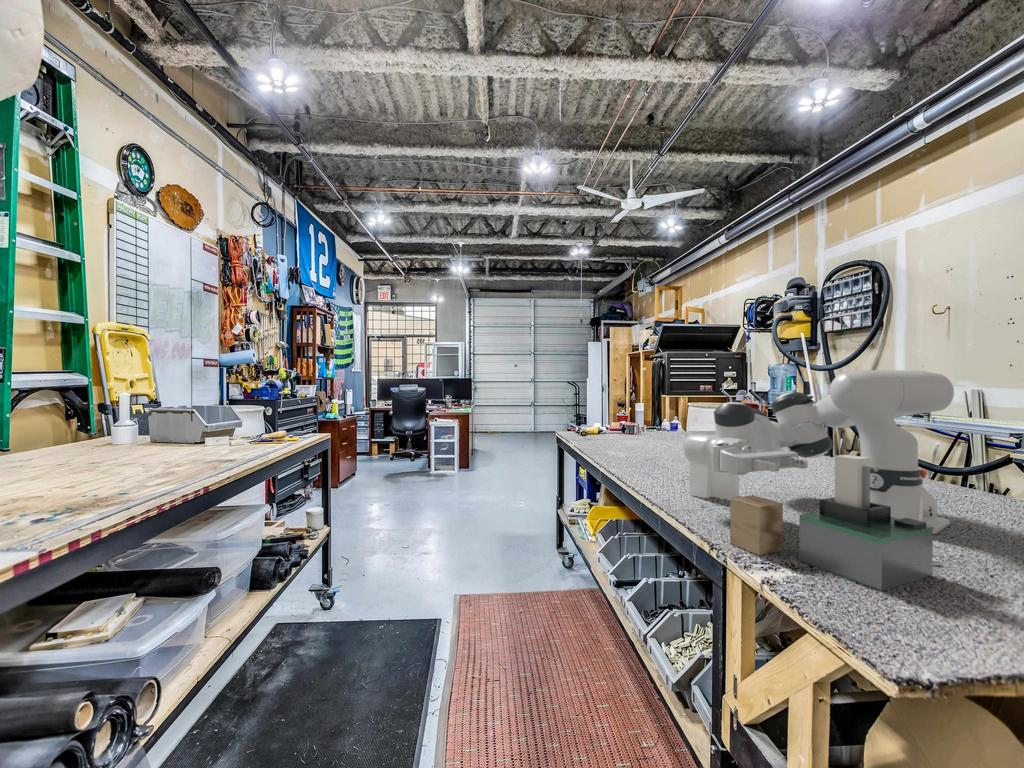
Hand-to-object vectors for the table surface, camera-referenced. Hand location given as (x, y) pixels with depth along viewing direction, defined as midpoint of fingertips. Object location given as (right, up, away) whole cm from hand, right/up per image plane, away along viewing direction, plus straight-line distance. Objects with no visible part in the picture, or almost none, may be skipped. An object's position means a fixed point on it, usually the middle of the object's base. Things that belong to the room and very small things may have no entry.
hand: (791, 466), depth 96 cm
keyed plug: (+5, -8, -11) cm, 14 cm away
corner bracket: (+2, -17, +40) cm, 43 cm away
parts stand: (-10, -17, -3) cm, 20 cm away
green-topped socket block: (+5, -17, -13) cm, 22 cm away
